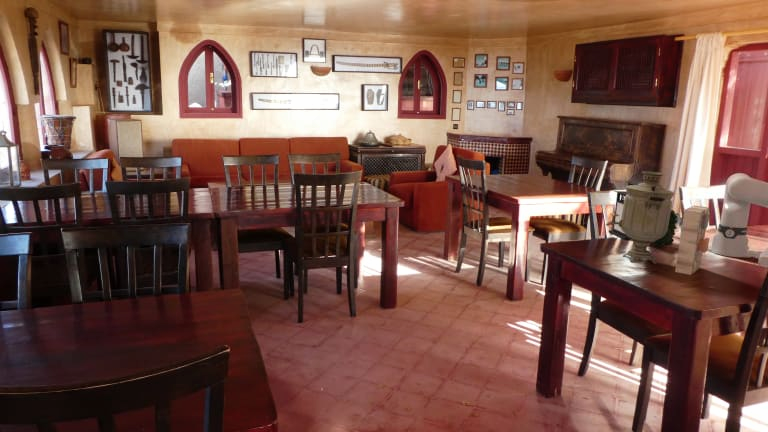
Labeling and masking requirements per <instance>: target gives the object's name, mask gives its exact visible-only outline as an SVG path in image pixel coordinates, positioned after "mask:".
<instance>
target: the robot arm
mask: <svg viewBox="0 0 768 432" xmlns="http://www.w3.org/2000/svg"><path fill="white" fill-rule="evenodd" d="M751 204H753V205H757V206H761V207H763V208H766V209H768V182H766V181H763V180H759V179H755V178H753V177H750V176H749V175H748V174H746V173H741V172H739V173H734V174H732V175H730V176H729V177H728V178H727V180H726V183H725V190H724V196H723V203H722V210H721V216H720V223H719V224H718V227H717V228H718V229H717V232H716V233H714V234H713V236H712V241H711V245H710V247H709V246H708V251H709V252H712V253H714V254H716V255H717V254H718V255H721V256H725V257H732V258H748V259H749V258H755V259H758V262H757V263H758V265H761V266H766V267H768V247H766V248H765V249H764V250H763V251H761V250H755V251H754V250H750V246H749V242H750V240H749V238H748V236H747V233H748V222H749V216H750V210H751Z"/></svg>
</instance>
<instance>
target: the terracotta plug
mask: <svg viewBox="0 0 768 432" xmlns="http://www.w3.org/2000/svg"><path fill="white" fill-rule="evenodd" d="M709 243H710V237H705V239H700V240H699V244H698V250H702V251H701V253H702V254H706V252H708V251H709V250H708V247H709V245H710V244H709Z"/></svg>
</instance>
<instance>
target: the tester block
mask: <svg viewBox="0 0 768 432" xmlns="http://www.w3.org/2000/svg"><path fill="white" fill-rule="evenodd" d="M683 212H684V213H683V214H684V217H683V224H682V230H680V235H681V237H680V236H679V239H680V241H679V245H678V252H677V258H676V264H675V271H674V272H675V273H679V274H684V275H689V276H691V275H692V274H694V273H695V272H697V271H698V270H700V267H701V262H702V256H703V253H701V251H702V250H698V244H699V240H700V239H705V238H706V231H707V228H706V229H701V225H702V219H703V216H704V215H706V214H709V215H710V213H709V212H710V207H708V206H700V205H692V206H690V207H688V208H685V209H684V211H683Z"/></svg>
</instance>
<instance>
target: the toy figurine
mask: <svg viewBox="0 0 768 432" xmlns="http://www.w3.org/2000/svg"><path fill="white" fill-rule="evenodd" d="M675 213H676V212H675V210H674V209H671V213H670V218H669V224H668V230H667V233H666V234H665V235H664V236H663V237H662V238H660V239H658V240H656V241H652V245H653V247H654V248H658V249H660V248H662V247H663V245H665V246H666V247H669V246H672V245H673V242H674V241H675V240H674V239H675V238H673V237H674V236H675V235H676V232H675V230H676V229H677V228H678V227H677V225H676V226H675V224H676V223H677V221H676V218H677V216H676V215H675Z"/></svg>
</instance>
